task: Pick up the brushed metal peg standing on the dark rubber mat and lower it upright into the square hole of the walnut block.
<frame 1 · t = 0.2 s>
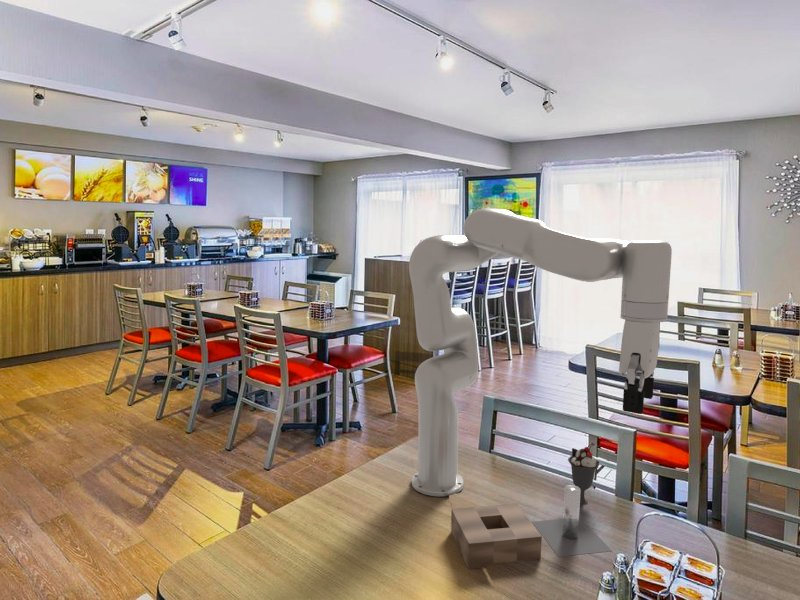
hand: (638, 404, 95), 30 cm above the table, tool pointing down, fingers open, 9 cm apart
sundae: (581, 504, 119), on the table
hole block: (493, 545, 103), on the table
peg: (570, 535, 105), point 1 cm above the table, touching mat
mat: (569, 538, 105), on the table
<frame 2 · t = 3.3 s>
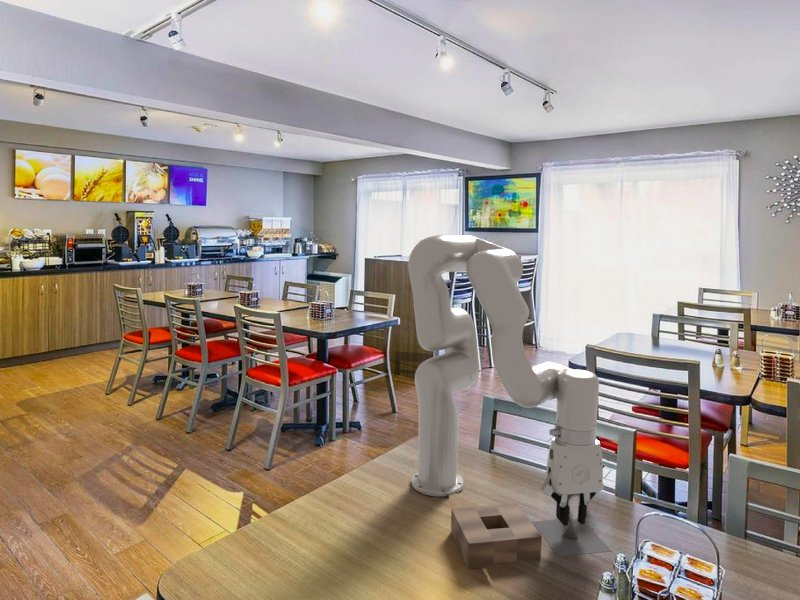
hand: (570, 520, 105), 4 cm above the table, tool pointing down, fingers closed on peg, 3 cm apart
peg: (570, 535, 105), point 1 cm above the table, touching gripper, mat
everything else where it was.
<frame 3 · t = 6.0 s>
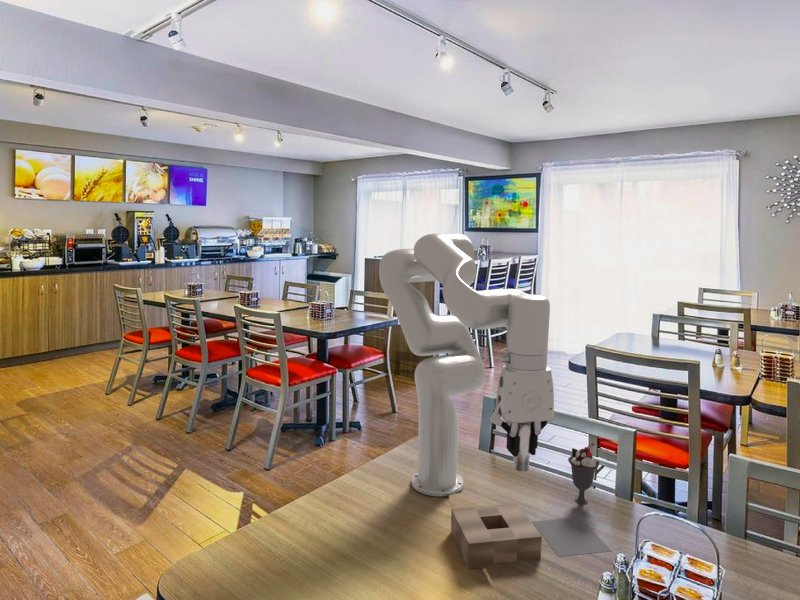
hand: (521, 452, 101), 19 cm above the table, tool pointing down, fingers closed on peg, 3 cm apart
peg: (521, 467, 102), point 16 cm above the table, touching gripper
everything else where it was.
when the fingers open (6 cm above the table, at t = 9.0 s): peg drops 3 cm, resting in hole block.
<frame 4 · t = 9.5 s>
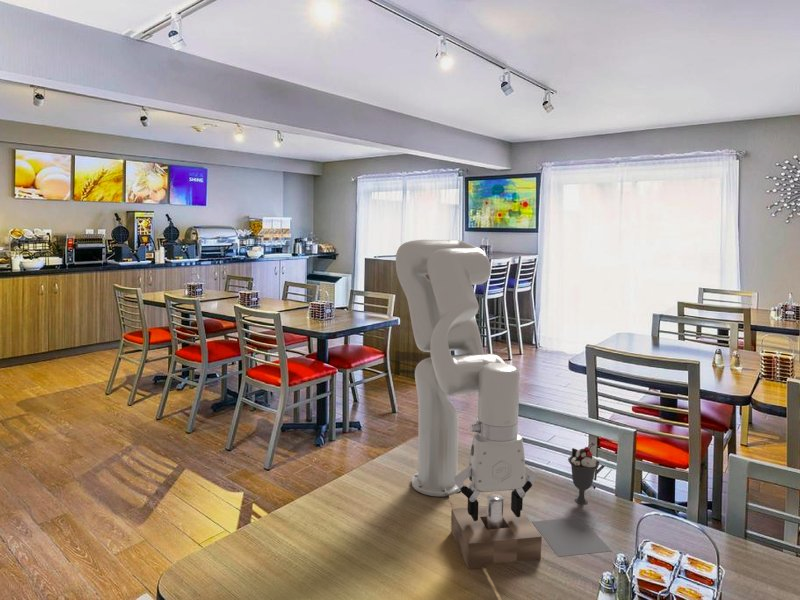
hand: (494, 515, 102), 6 cm above the table, tool pointing down, fingers open, 8 cm apart
peg: (493, 546, 103), resting in hole block
everything else where it was.
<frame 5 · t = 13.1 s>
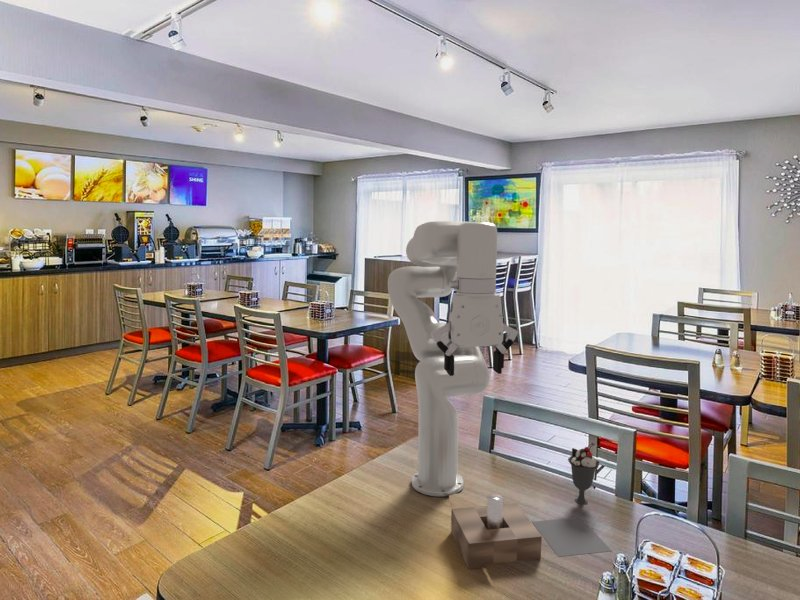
hand: (473, 373, 103), 33 cm above the table, tool pointing down, fingers open, 9 cm apart
nothing on the table moved.
at the end: peg 0.0 cm off-centre on the hole block, point 0.0 cm above the hole block's base; peg tilted 0°; the gripper is holding nothing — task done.
